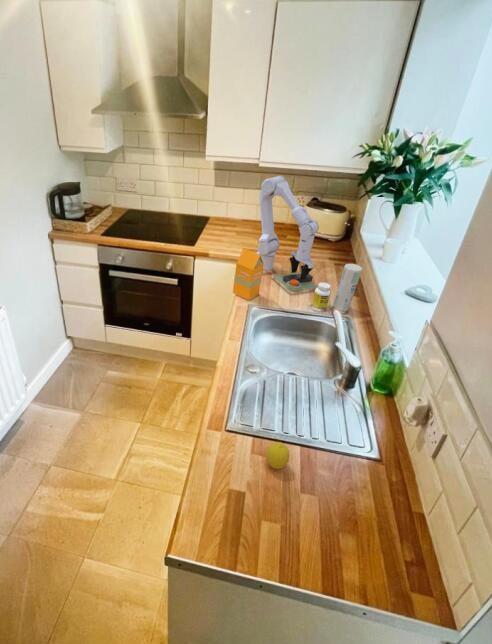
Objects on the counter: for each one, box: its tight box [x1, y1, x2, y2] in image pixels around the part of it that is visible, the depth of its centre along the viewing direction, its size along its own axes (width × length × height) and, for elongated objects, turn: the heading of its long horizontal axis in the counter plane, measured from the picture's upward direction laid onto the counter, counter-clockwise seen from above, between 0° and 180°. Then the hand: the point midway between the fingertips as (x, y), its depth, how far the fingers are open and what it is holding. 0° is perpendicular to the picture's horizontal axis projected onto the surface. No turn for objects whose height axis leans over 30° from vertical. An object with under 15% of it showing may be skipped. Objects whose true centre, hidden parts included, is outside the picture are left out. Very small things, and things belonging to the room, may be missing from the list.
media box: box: [272, 272, 318, 293], centre depth 184 cm, size 16×14×4 cm
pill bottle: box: [311, 282, 332, 310], centre depth 165 cm, size 6×6×11 cm
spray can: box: [332, 263, 363, 312], centre depth 162 cm, size 6×6×20 cm
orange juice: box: [232, 248, 264, 301], centre depth 171 cm, size 8×9×20 cm
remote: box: [283, 272, 314, 283], centre depth 185 cm, size 13×4×3 cm, turn 109°
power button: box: [290, 279, 299, 286], centre depth 178 cm, size 4×4×2 cm
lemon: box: [265, 441, 290, 470], centre depth 99 cm, size 6×6×8 cm
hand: (298, 275), depth 184 cm, fingers open, 7 cm apart
